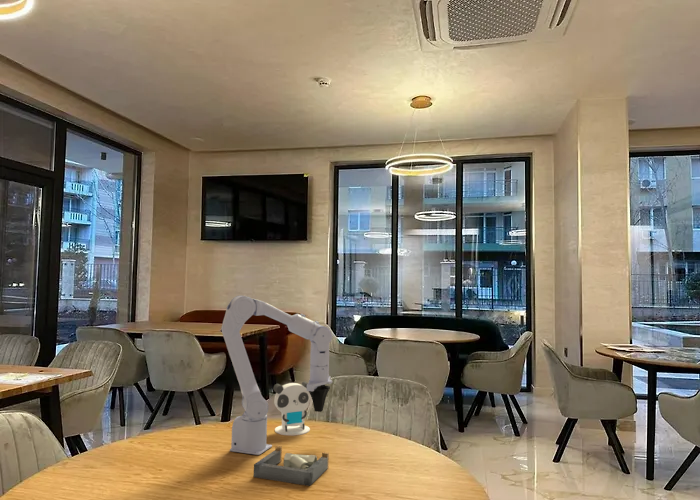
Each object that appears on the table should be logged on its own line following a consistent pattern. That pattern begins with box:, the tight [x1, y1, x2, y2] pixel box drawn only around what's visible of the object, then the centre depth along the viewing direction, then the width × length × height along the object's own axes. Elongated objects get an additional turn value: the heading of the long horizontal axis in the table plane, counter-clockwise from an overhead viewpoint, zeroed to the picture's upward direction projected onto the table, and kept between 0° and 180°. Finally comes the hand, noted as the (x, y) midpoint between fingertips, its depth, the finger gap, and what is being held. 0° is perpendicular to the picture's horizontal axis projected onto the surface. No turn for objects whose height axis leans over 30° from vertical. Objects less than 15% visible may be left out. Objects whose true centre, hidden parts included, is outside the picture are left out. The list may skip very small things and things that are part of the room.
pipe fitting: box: [283, 452, 318, 470], centre depth 123 cm, size 8×4×7 cm
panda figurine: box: [273, 381, 311, 436], centre depth 158 cm, size 12×11×15 cm
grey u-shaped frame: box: [253, 445, 330, 487], centre depth 122 cm, size 15×12×4 cm
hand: (318, 411), depth 146 cm, fingers closed
